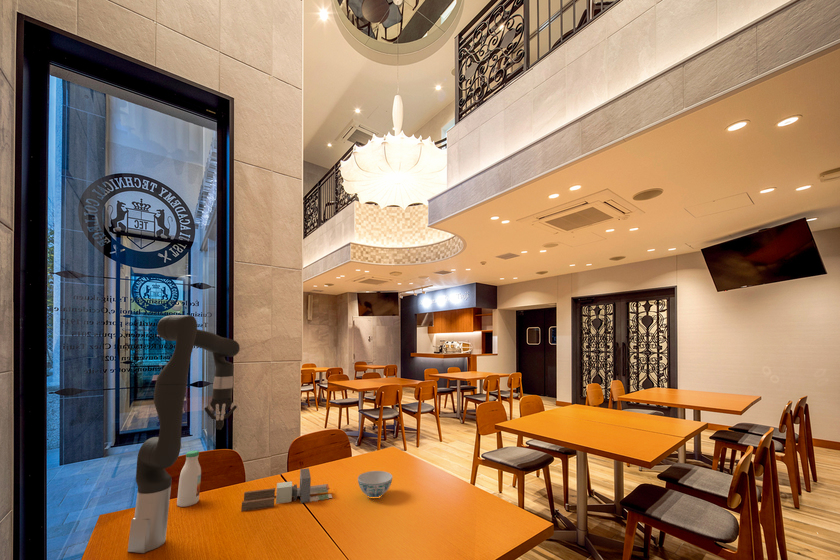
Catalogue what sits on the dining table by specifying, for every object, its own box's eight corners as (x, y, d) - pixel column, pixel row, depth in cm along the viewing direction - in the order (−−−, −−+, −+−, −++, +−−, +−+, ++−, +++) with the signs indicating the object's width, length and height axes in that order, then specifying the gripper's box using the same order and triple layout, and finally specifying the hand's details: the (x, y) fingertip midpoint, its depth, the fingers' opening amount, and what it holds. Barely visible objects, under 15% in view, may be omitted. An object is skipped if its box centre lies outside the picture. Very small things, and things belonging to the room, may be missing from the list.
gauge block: (275, 504, 151) (276, 488, 152) (276, 498, 157) (277, 483, 158) (293, 501, 153) (294, 486, 154) (293, 495, 159) (294, 481, 160)
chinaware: (386, 505, 150) (386, 484, 151) (351, 501, 153) (352, 481, 154) (396, 490, 164) (396, 472, 166) (364, 487, 167) (364, 469, 169)
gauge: (241, 512, 144) (243, 486, 145) (244, 499, 155) (245, 475, 157) (332, 498, 156) (333, 475, 157) (328, 487, 167) (329, 465, 169)
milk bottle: (191, 507, 148) (196, 454, 151) (172, 507, 148) (177, 454, 151) (202, 499, 155) (207, 449, 158) (184, 499, 155) (189, 448, 159)
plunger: (293, 502, 151) (294, 492, 152) (293, 494, 159) (293, 484, 160) (329, 497, 156) (329, 487, 157) (326, 490, 164) (327, 480, 165)
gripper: (203, 388, 154) (199, 432, 151) (238, 387, 158) (235, 429, 155) (207, 386, 161) (203, 428, 158) (240, 385, 165) (237, 426, 162)
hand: (219, 429), depth 156 cm, fingers closed
